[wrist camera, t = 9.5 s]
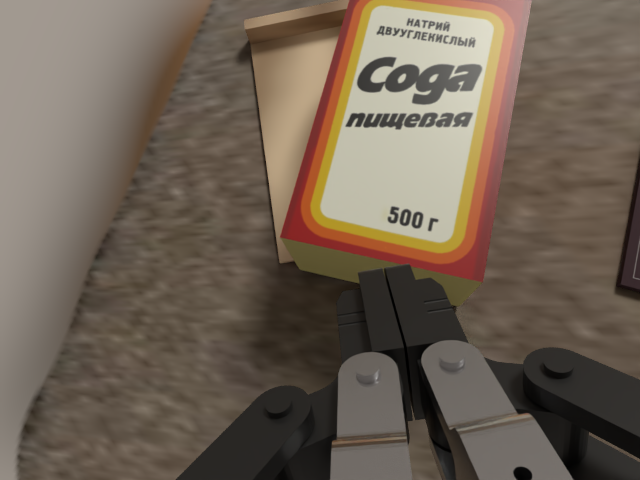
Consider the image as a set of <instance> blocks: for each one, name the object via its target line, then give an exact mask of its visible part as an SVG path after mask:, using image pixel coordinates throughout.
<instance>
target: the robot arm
mask: <svg viewBox="0 0 640 480" xmlns="http://www.w3.org/2000/svg"><path fill="white" fill-rule="evenodd" d="M384 273H385V275H384ZM358 277H359V283H360V289H355V290H349V291H342V293H341V295H340V297H339V299H338V301H337V303H336V305H337V315H338V326H339V337H340V347H341V358H342V366H341V368H340V370H339V374H338V377H337V378H336V379H335V380H334V381H333V382H332V383H331V384H330V385H328V386H327V387H325V388H323V389H321V390H319V391H317V392H314V393H312V394H309V395H307V393H306V392H305V391H303V390H302V389H300V388H298V387H295V386H279V387H275V388H272V389H270V390H268V391H266V392H264V393H263V394H261V395H260V396H259V397H258V398H257V399H256V400H255V401H254V402H253V403H252V404H251V405H250V406H249V407H248V408H247V409H246V410H245V411H244V412H243V413H242V414H241V415H240V416H239V417H238V418H237V419H236V420H235V421H234V422H233V423H232V424H231V425H230V426H229V427H228V428H227V429H226V430H225V431H224V432H223V433H222V434H221V435H220V436H219V437H218V438H217V439H216V440H215V441H214V442H213V443H212V444H211V445H210V446H209V447H208V448H207V449H206V450H205V451H204V452H203V453H202V454H201V455H200V456H199V457H198V458H197V459H196V460H195V461H194V462H193V463H192V464H191V465H190V466H189V467H188V468H187V469H186V470H185V471H184V472H183V473H182V474H181V475H180V476H179V477H178V478H177V479H176V480H412V473H411V466H410V458H409V450H408V444H409V439H410V437H409V429H408V421H413V419H412V410H411V405H412V409H413V413H414V417H415V420H419V419H425V420H426V424H427V427H428V433H429V443H430V448H431V451H432V454H433V456H434V459H435V462H436V465H437V467H438V470H439V473H440V476H441V478H442V480H640V462H638V461H636V460H634V459H632V458H630V457H629V456H627V455H625V454H623V453H621V452H619V451H617V450H616V449H614V448H612V447H610V446H608V445H606V444H604V443H602V442H601V441H599V440H597V439H595V438H593V437H591V436H589V432H591V433H593V434H594V435H596V436H598V437H600V438H602V439H604V440H606V441H608V442H610V443H611V444H613V445H615V446H617V447H619V448H621V449H623V450H625V451H626V452H628V453H630V454H632V455H634V456H636V457H637V458H639V459H640V380H639V379H636V378H634V377H632V376H629V375H627V374H625V373H622V372H620V371H618V370H615V369H613V368H611V367H608V366H606V365H603V364H601V363H599V362H596V361H594V360H592V359H589V358H587V357H585V356H582V355H580V354H578V353H575V352H573V351H570V350H566V349H562V348H542V349H538V350H535V351H533V352H531V353H530V354H529V355H528V356H527V357H526V358H525V360H524V363H523V364H513V363H503V362H497V361H493V360H490V359H487V358H485V357H483V355H482V354H481V352H480V351H479V350H478V349H477V348H476V347H474V346H473V345H471V344H469V343H468V341H467V338H466V336H465V334H464V332H463V330H462V327H461V325H460V323H459V321H458V319H457V317H456V314H455V312H454V310H453V309H452V306H451V303H450V301H449V300H448V297H447V295H446V292H445V290H444V288H443V286H442V285H440V284H439V283H438V282H436V281H435V280H434V279H432V278H431V277H430V278H424V279H418V280H416V279H415V277H414V274H413V271H412V269H411V266H410V264H402V265H396V266H390V267H384V272H383V268H378V269H372V270H365V271H359V272H358ZM410 401H411V402H410Z"/></svg>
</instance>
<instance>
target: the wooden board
mask: <svg viewBox="0 0 640 480" xmlns="http://www.w3.org/2000/svg"><path fill="white" fill-rule="evenodd" d="M348 3H349V0H339V1H334V2H329V3H324V4H319V5H314V6H310V7H305V8H300V9H295V10H290V11H285V12H281V13H276V14H271V15H266V16H261V17H256V18H251V19H247V20H244V24H245V30H246V33H247V36H248V39H249V42H250V45H251V52H252V60H253V67H254V75H255V82H256V90H257V97H258V105H259V112H260V120H261V127H262V135H263V142H264V150H265V157H266V165H267V172H268V180H269V187H270V195H271V202H272V210H273V217H274V225H275V232H276V240H277V247H278V255H279V263H280V264H282V263H288V262H293V261H294V260H293V258H292V256H291V255H290V253H289V251H288V250H287V248H286V247H285V245H284V243H283V242H282V240H281V238H280V235H281V232H282V228H283V225H284V222H285V218H286V215H287V211H288V208H289V205H290V201H291V198H292V194H293V191H294V187H295V184H296V181H297V177H298V174H299V170H300V167H301V164H302V160H303V157H304V153H305V150H306V146H307V143H308V140H309V136H310V133H311V129H312V126H313V123H314V119H315V116H316V112H317V109H318V105H319V102H320V99H321V95H322V92H323V88H324V85H325V82H326V78H327V75H328V71H329V68H330V64H331V61H332V58H333V54H334V51H335V47H336V44H337V41H338V37H339V34H340V30H341V27H342V23H343V20H344V17H345V13H346V10H347V6H348Z"/></svg>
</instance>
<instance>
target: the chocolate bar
mask: <svg viewBox="0 0 640 480" xmlns="http://www.w3.org/2000/svg"><path fill="white" fill-rule="evenodd" d="M617 286H618V287H621V288H625V289H628V290H632V291H635V292H639V293H640V161H639V166H638V171H637V177H636V182H635V188H634V193H633V199H632V204H631V210H630V215H629V221H628V226H627V231H626V237H625V242H624V248H623V253H622V259H621V264H620V270H619V275H618V280H617Z"/></svg>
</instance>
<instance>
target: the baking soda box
mask: <svg viewBox="0 0 640 480" xmlns="http://www.w3.org/2000/svg"><path fill="white" fill-rule="evenodd" d="M531 1H532V0H349V3H348V6H347V10H346V13H345V17H344V20H343V23H342V27H341V30H340V34H339V37H338V41H337V44H336V47H335V51H334V54H333V58H332V61H331V64H330V68H329V71H328V75H327V78H326V82H325V85H324V88H323V92H322V95H321V99H320V102H319V105H318V109H317V112H316V116H315V119H314V123H313V126H312V129H311V133H310V136H309V140H308V143H307V146H306V150H305V153H304V157H303V160H302V164H301V167H300V170H299V174H298V177H297V181H296V184H295V187H294V191H293V194H292V198H291V201H290V205H289V208H288V211H287V215H286V218H285V222H284V225H283V228H282V232H281V235H280V238H281V240H282V242H283V243H284V245H285V247H286V248H287V250H288V251H289V253H290V255H291V256H292V258H293V260H294V261H295V263H296V264H297V266H298V268H299V269H300V270H303V271H307V272H312V273H316V274H320V275H325V276H329V277H333V278H337V279H342V280H346V281H350V282H355V283H359V277H358V272H359V271H365V270H372V269H378V268H383V272H384V267H390V266H396V265H402V264H410V266H411V269H412V271H413V274H414V277H415V279H416V280H418V279H424V278H430V277H431V278H432V279H434V280H435V281H436V282H438V283H439V284H440V285H442V286H443V288H444V290H445V292H446V295H447V297H448V300H449V301H450V303H451V305H454V306H458V307H459V306H460V305H461V304H462V303H463V302H464V301H465V300H466V299H467V298H468V297H469V296H470V295H471V294H472V293H473V292H474V291H475V290H476V289H477V288H478V287H479V286H480V285H481V284H482V283H483V278H484V272H485V267H486V261H487V255H488V249H489V244H490V238H491V232H492V226H493V220H494V215H495V209H496V203H497V197H498V192H499V186H500V180H501V174H502V169H503V163H504V157H505V151H506V146H507V140H508V134H509V128H510V122H511V117H512V111H513V105H514V99H515V94H516V88H517V82H518V76H519V71H520V65H521V59H522V53H523V48H524V42H525V36H526V30H527V24H528V19H529V13H530V7H531ZM384 275H385V273H384ZM359 284H360V283H359Z"/></svg>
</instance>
